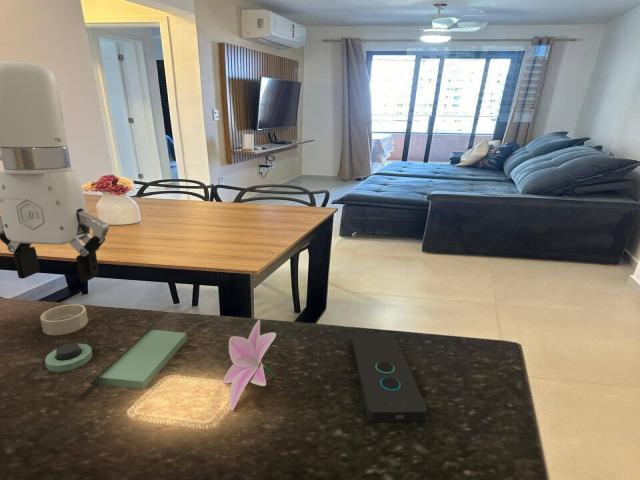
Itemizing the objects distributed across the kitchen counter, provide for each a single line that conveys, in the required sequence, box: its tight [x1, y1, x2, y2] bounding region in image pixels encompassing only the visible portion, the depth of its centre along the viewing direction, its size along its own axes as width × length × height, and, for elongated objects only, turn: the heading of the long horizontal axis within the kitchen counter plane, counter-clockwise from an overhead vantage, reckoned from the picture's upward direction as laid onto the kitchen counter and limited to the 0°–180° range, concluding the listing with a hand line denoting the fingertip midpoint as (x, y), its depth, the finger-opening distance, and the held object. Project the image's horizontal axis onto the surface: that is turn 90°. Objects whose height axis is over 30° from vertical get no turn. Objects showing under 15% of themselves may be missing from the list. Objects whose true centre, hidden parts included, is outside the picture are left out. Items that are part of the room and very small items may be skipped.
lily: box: [222, 318, 277, 412], centre depth 56 cm, size 12×12×10 cm
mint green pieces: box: [44, 329, 188, 390], centre depth 63 cm, size 16×14×3 cm
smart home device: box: [350, 333, 428, 423], centre depth 60 cm, size 8×2×20 cm
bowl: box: [39, 303, 89, 336], centre depth 69 cm, size 7×7×4 cm
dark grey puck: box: [55, 342, 80, 361], centre depth 59 cm, size 3×3×1 cm
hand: (59, 276), depth 57 cm, fingers open, 9 cm apart
